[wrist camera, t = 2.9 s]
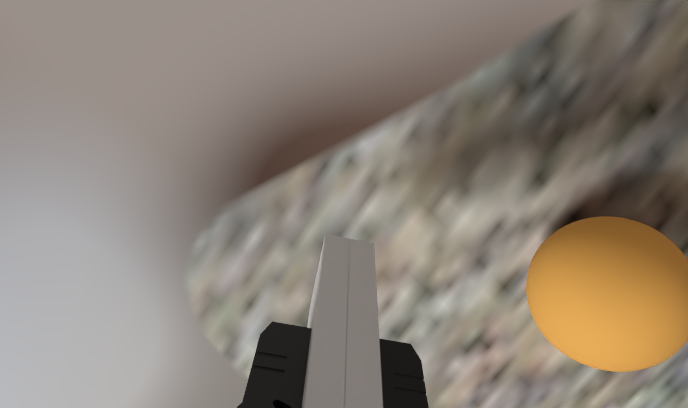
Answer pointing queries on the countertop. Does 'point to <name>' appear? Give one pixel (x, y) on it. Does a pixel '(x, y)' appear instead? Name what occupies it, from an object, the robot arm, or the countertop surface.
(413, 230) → the countertop surface
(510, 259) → the countertop surface
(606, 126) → the countertop surface
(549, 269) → the ball
